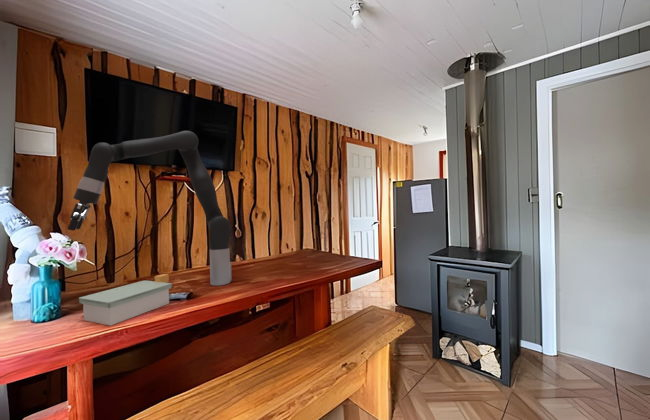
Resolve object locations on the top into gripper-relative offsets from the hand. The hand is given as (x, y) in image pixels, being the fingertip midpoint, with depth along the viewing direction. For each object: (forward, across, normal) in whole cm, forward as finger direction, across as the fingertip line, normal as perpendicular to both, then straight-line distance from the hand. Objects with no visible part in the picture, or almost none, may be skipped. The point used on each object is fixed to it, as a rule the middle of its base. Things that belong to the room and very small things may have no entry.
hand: (73, 229), depth 107 cm
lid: (+17, -19, -26) cm, 36 cm away
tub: (+23, -20, -27) cm, 40 cm away
